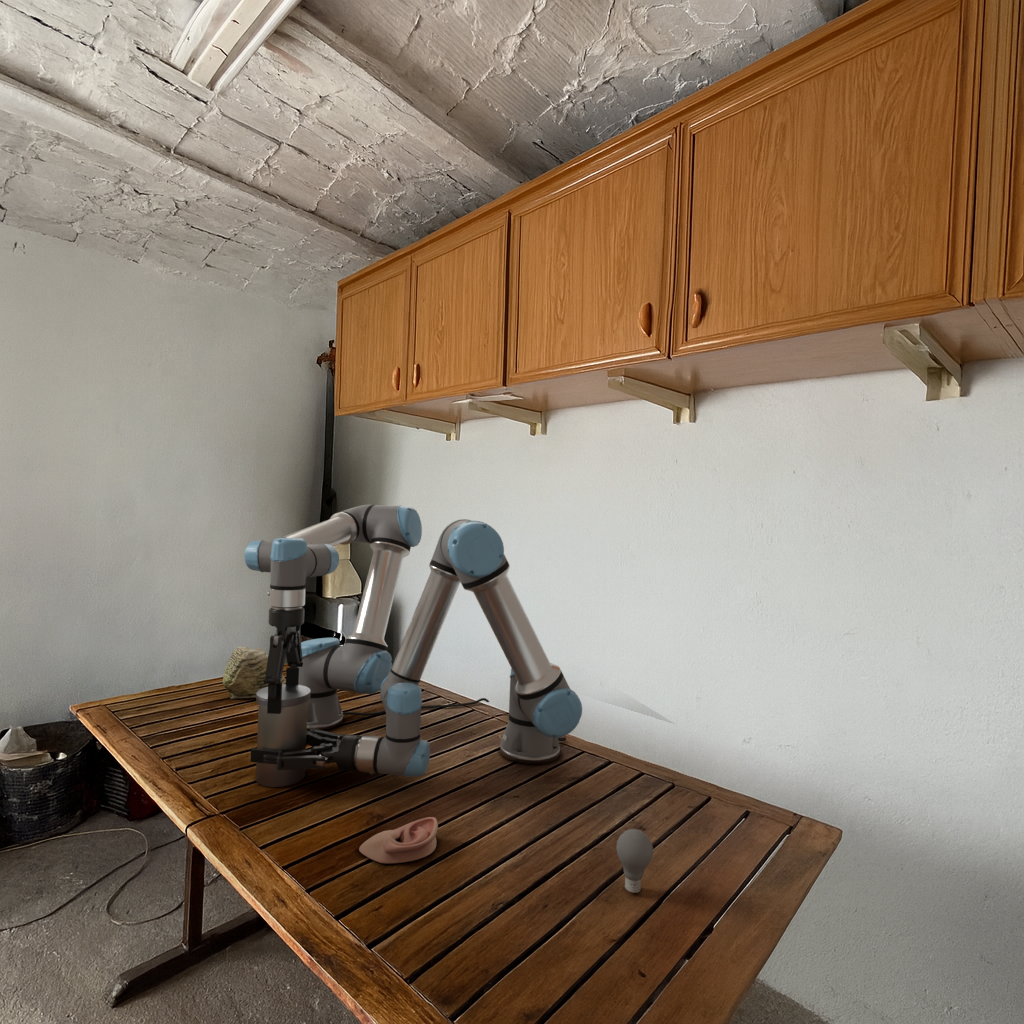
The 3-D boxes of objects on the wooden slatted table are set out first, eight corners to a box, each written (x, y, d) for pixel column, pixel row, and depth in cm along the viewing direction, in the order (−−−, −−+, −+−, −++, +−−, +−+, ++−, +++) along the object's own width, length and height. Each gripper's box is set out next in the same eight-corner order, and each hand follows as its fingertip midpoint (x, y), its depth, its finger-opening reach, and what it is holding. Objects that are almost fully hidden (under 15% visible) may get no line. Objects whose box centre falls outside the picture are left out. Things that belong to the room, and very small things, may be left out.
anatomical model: (352, 836, 111) (378, 805, 123) (351, 858, 111) (377, 826, 123) (423, 847, 109) (444, 815, 120) (422, 870, 109) (443, 836, 120)
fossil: (218, 695, 195) (220, 647, 195) (278, 685, 208) (279, 640, 207) (228, 703, 189) (230, 653, 188) (289, 692, 201) (290, 645, 201)
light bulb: (610, 879, 108) (613, 822, 108) (644, 879, 109) (647, 822, 109) (619, 902, 102) (622, 840, 102) (655, 901, 103) (658, 840, 103)
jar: (263, 791, 135) (266, 703, 135) (250, 773, 143) (253, 690, 143) (311, 780, 141) (314, 696, 141) (296, 763, 150) (299, 684, 149)
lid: (264, 710, 134) (264, 702, 134) (250, 695, 143) (250, 688, 143) (317, 701, 141) (317, 694, 141) (300, 688, 150) (300, 681, 150)
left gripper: (287, 598, 153) (283, 687, 154) (249, 616, 130) (245, 722, 130) (318, 599, 154) (314, 688, 154) (286, 617, 130) (282, 723, 130)
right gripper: (339, 793, 129) (236, 784, 131) (374, 750, 152) (286, 742, 154) (341, 757, 129) (237, 748, 131) (376, 719, 152) (287, 712, 154)
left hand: (283, 704), depth 142 cm, fingers closed on lid, 11 cm apart
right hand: (264, 745), depth 143 cm, fingers closed on jar, 10 cm apart
